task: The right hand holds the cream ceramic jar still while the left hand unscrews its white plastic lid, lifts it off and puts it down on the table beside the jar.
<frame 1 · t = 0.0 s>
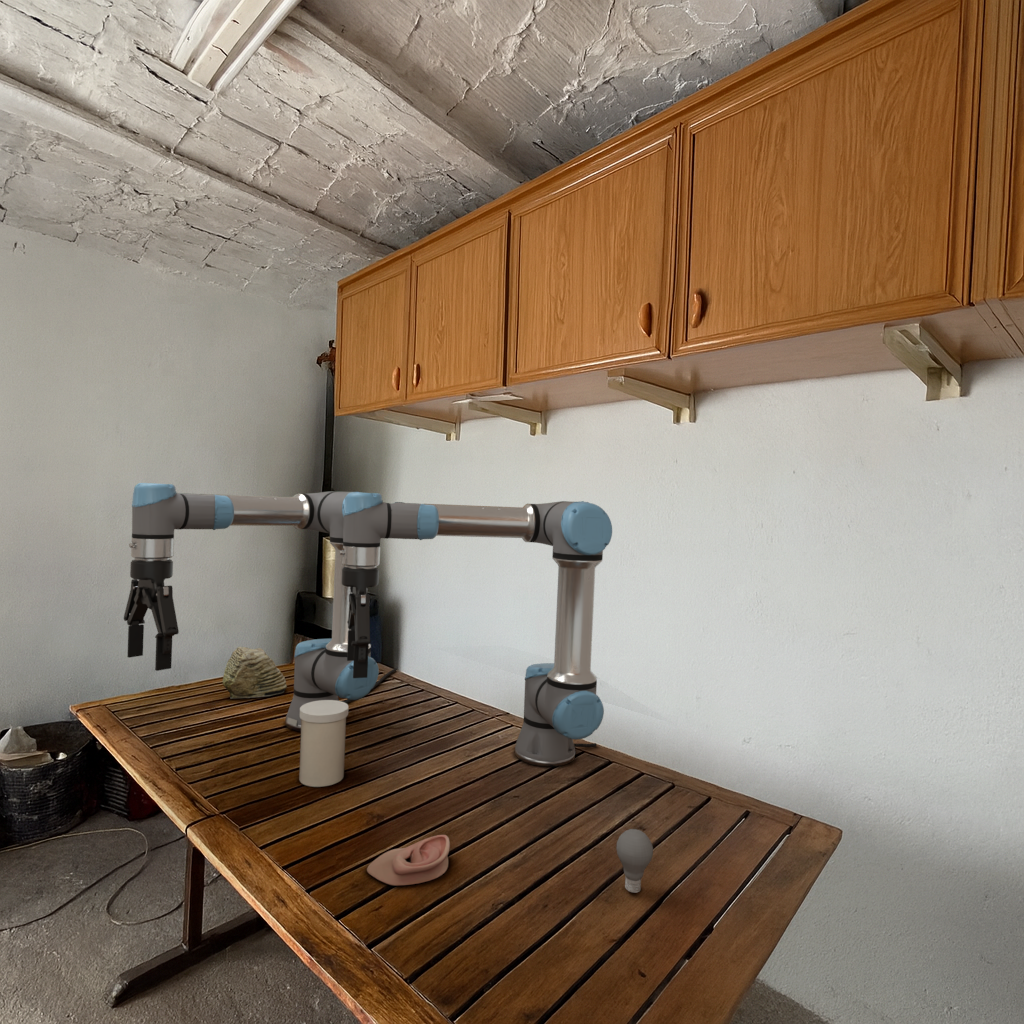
left hand: (148, 662, 129), 28 cm above the table, tool pointing down, fingers open, 13 cm apart
right hand: (356, 668, 132), 28 cm above the table, tool pointing down, fingers open, 13 cm apart
light bulb: (632, 891, 106), on the table
anatomical model: (408, 868, 110), on the table
lid: (324, 708, 143), point 16 cm above the table, screwed on, not yet turned
jar: (321, 777, 143), on the table
fossil: (254, 694, 198), on the table
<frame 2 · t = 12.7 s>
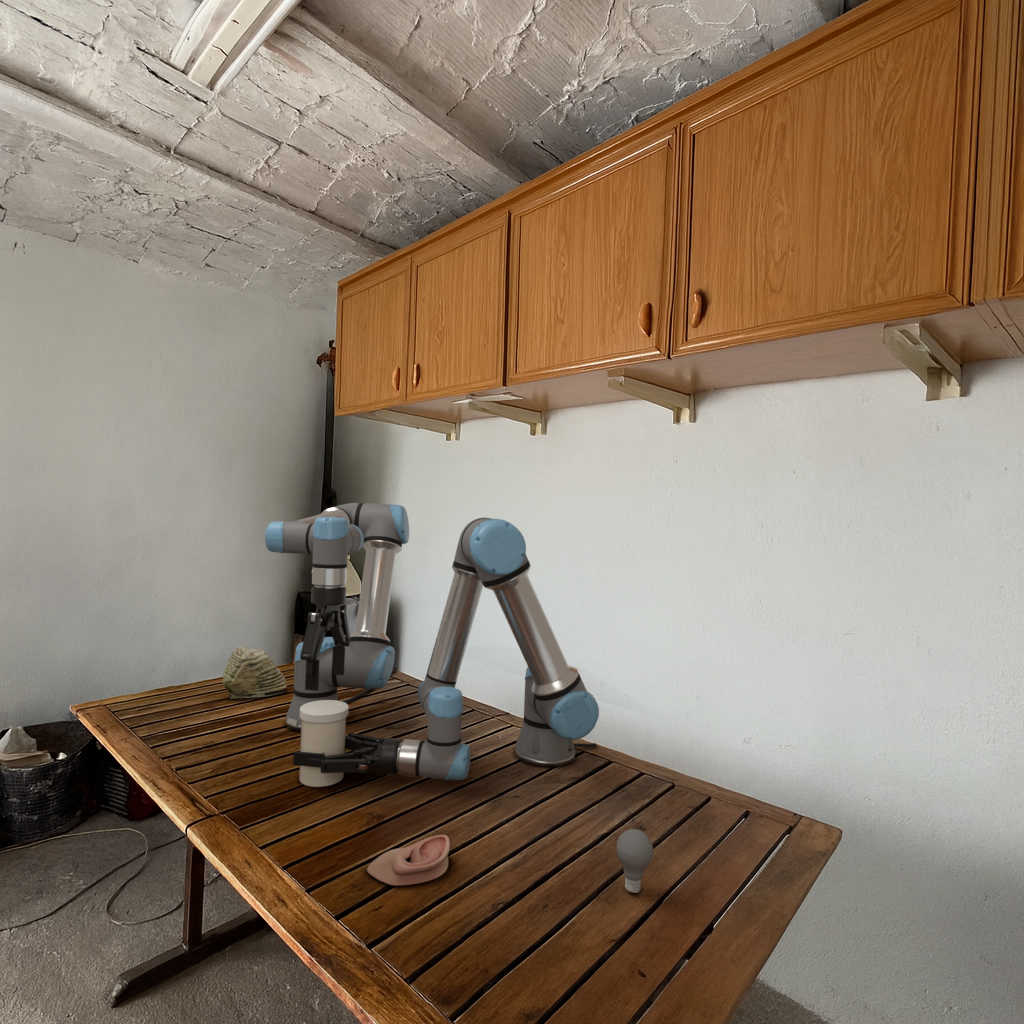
left hand: (325, 681, 143), 22 cm above the table, tool pointing down, fingers open, 12 cm apart
right hand: (304, 748, 143), 6 cm above the table, tool horizontal, fingers closed on jar, 10 cm apart
jar: (321, 777, 143), on the table, touching right hand
everything else where it was.
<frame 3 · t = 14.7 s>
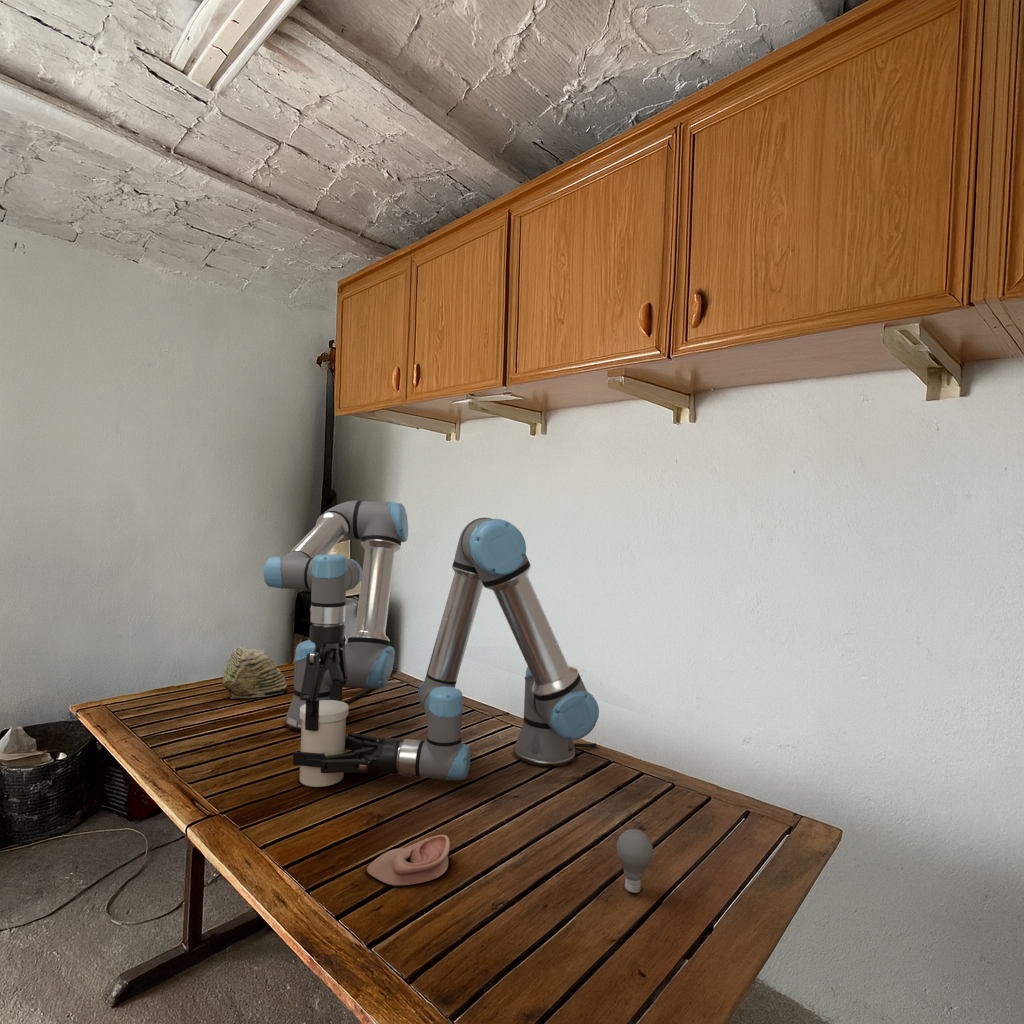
left hand: (323, 721, 143), 13 cm above the table, tool pointing down, fingers closed on lid, 10 cm apart
right hand: (304, 748, 143), 6 cm above the table, tool horizontal, fingers closed on jar, 10 cm apart
lid: (324, 708, 143), point 16 cm above the table, screwed on, not yet turned, touching left hand
jar: (321, 777, 143), on the table, touching right hand
everything else where it was.
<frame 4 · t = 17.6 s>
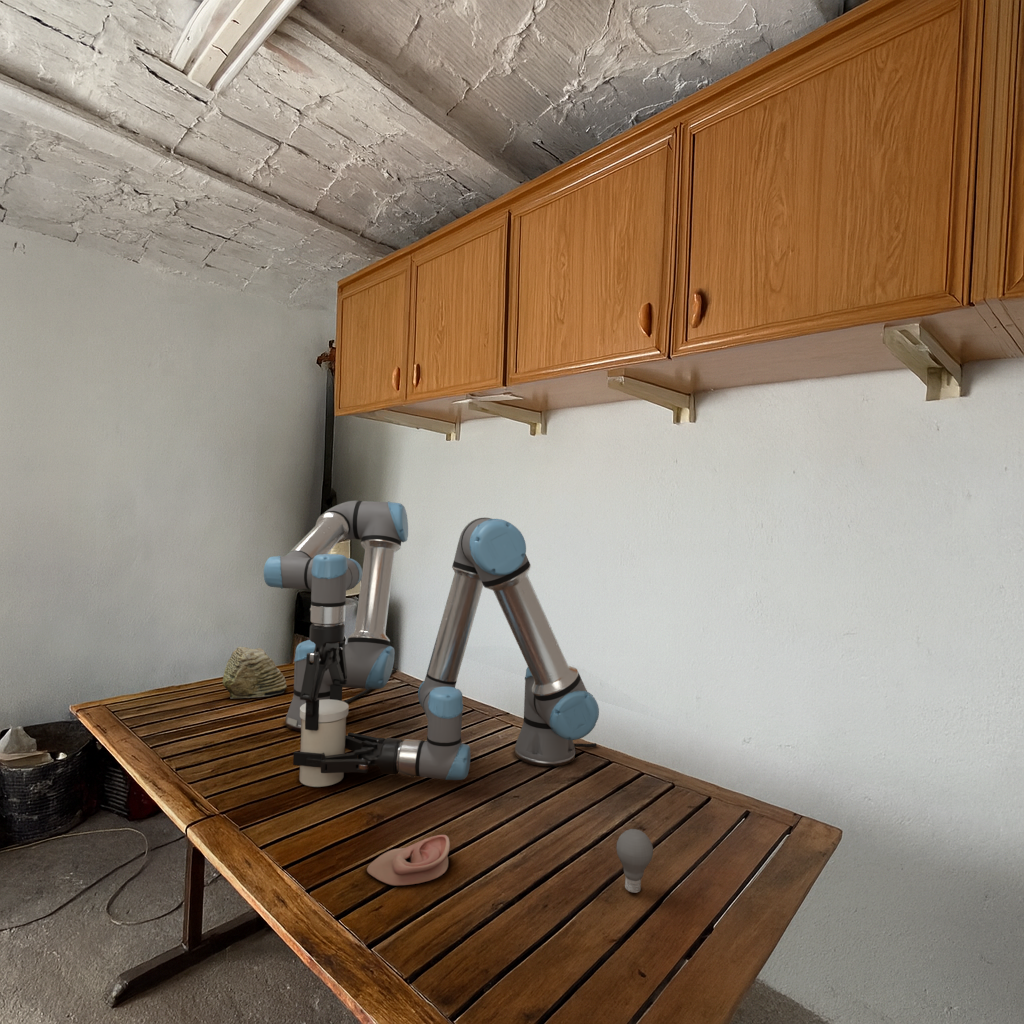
left hand: (323, 720, 143), 13 cm above the table, tool pointing down, fingers closed on lid, 10 cm apart
right hand: (304, 748, 143), 6 cm above the table, tool horizontal, fingers closed on jar, 10 cm apart
lid: (324, 708, 143), point 16 cm above the table, turned 83° so far, risen 0.1 cm, still on its thread, touching left hand
jar: (321, 777, 143), on the table, touching right hand
everything else where it was.
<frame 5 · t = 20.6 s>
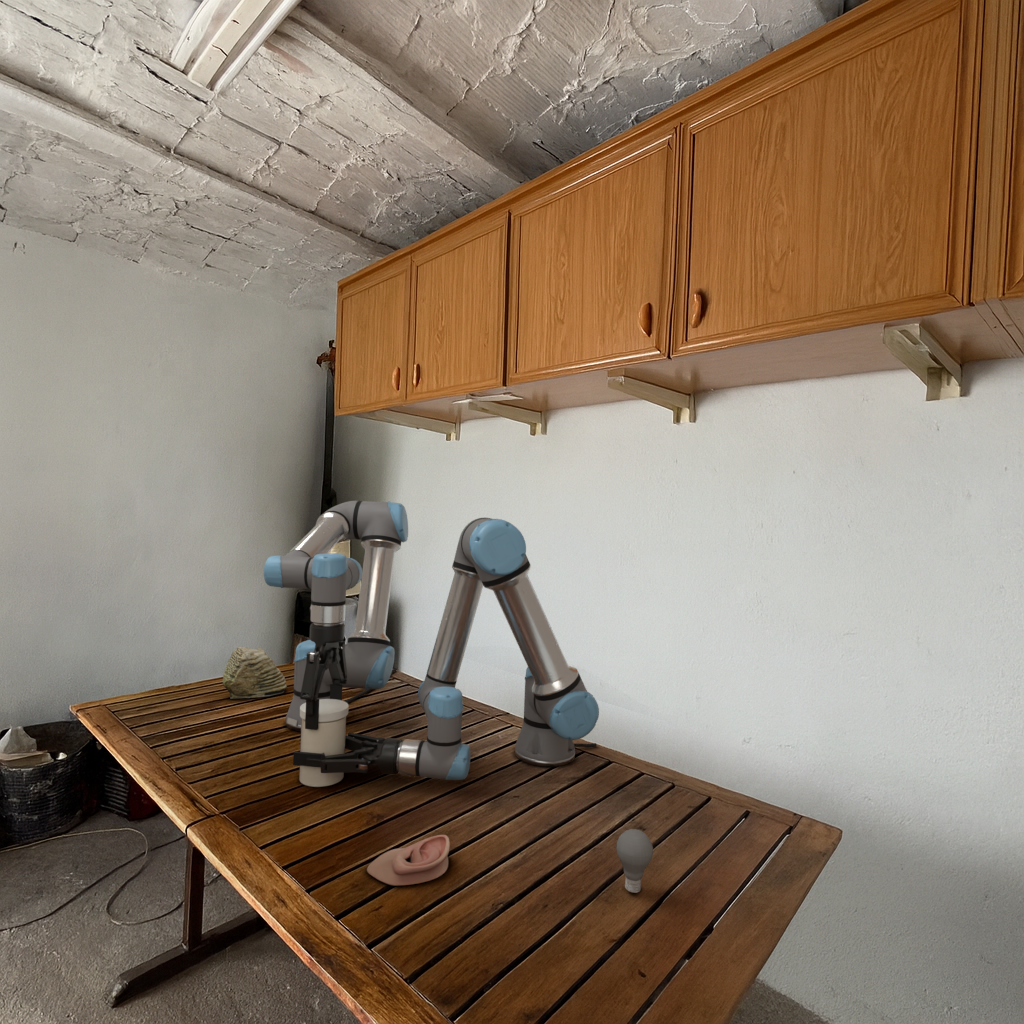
left hand: (323, 720, 143), 13 cm above the table, tool pointing down, fingers closed on lid, 10 cm apart
right hand: (304, 748, 143), 6 cm above the table, tool horizontal, fingers closed on jar, 10 cm apart
lid: (324, 707, 143), point 16 cm above the table, turned 166° so far, risen 0.2 cm, still on its thread, touching left hand
jar: (321, 777, 143), on the table, touching right hand
everything else where it was.
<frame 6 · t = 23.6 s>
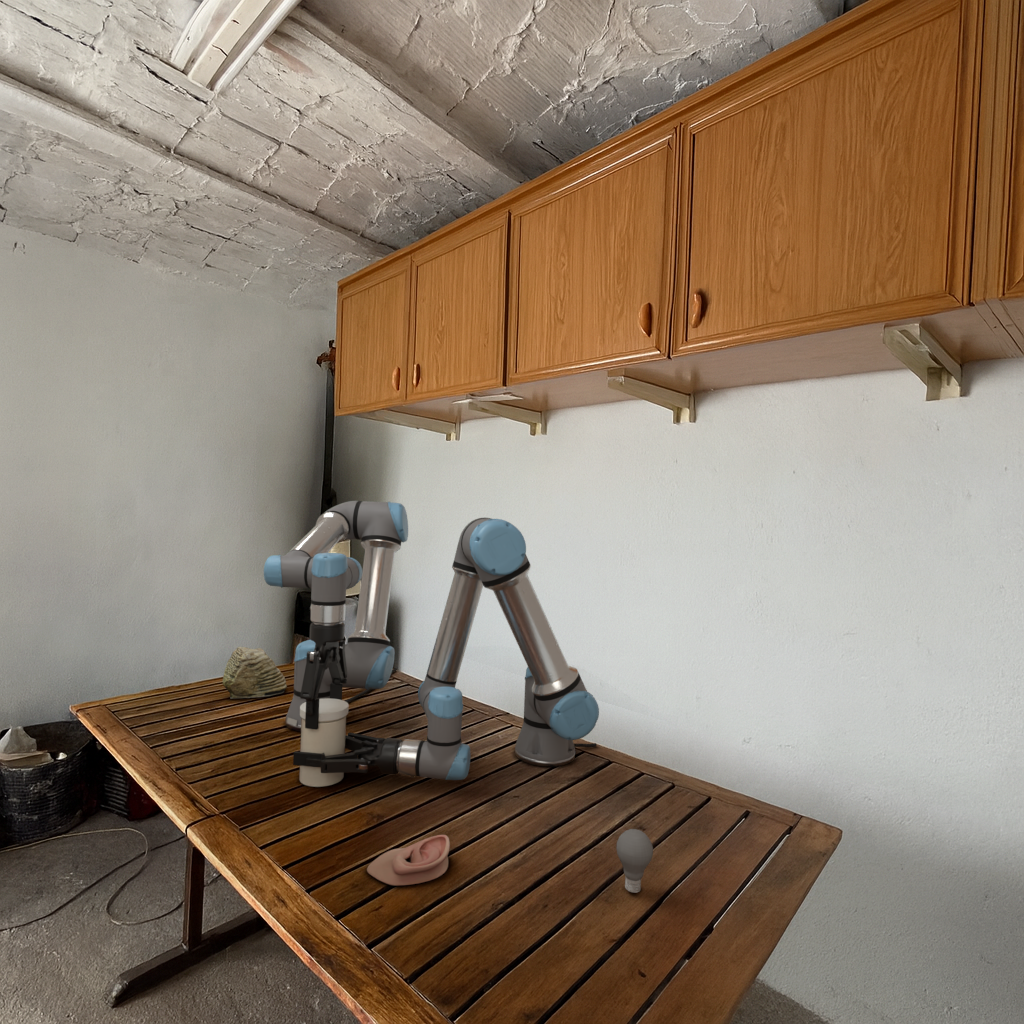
left hand: (323, 719, 143), 13 cm above the table, tool pointing down, fingers closed on lid, 10 cm apart
right hand: (304, 748, 143), 6 cm above the table, tool horizontal, fingers closed on jar, 10 cm apart
lid: (324, 707, 143), point 16 cm above the table, turned 249° so far, risen 0.4 cm, still on its thread, touching left hand
jar: (321, 777, 143), on the table, touching right hand
everything else where it was.
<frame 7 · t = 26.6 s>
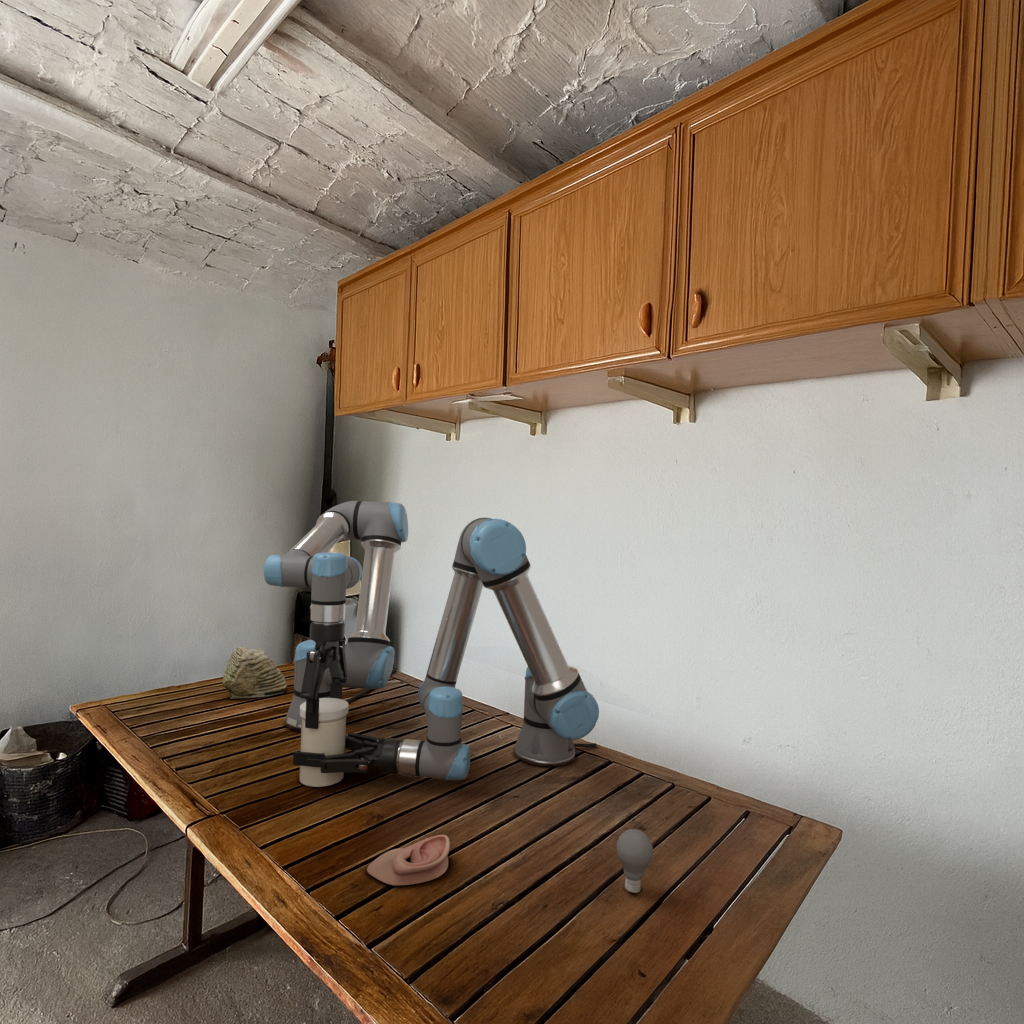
left hand: (324, 719, 143), 13 cm above the table, tool pointing down, fingers closed on lid, 10 cm apart
right hand: (304, 748, 143), 6 cm above the table, tool horizontal, fingers closed on jar, 10 cm apart
lid: (324, 706, 143), point 16 cm above the table, turned 332° so far, risen 0.5 cm, still on its thread, touching left hand
jar: (321, 777, 143), on the table, touching right hand
everything else where it was.
when the left hand's fingers open (0 cm above the table, at t = 36.0 s): lid drops 2 cm, point 1 cm above the table.
when the right hand's fingers open (6 cm above the table, at t = 37.1 s): jar stays where it is, on the table.
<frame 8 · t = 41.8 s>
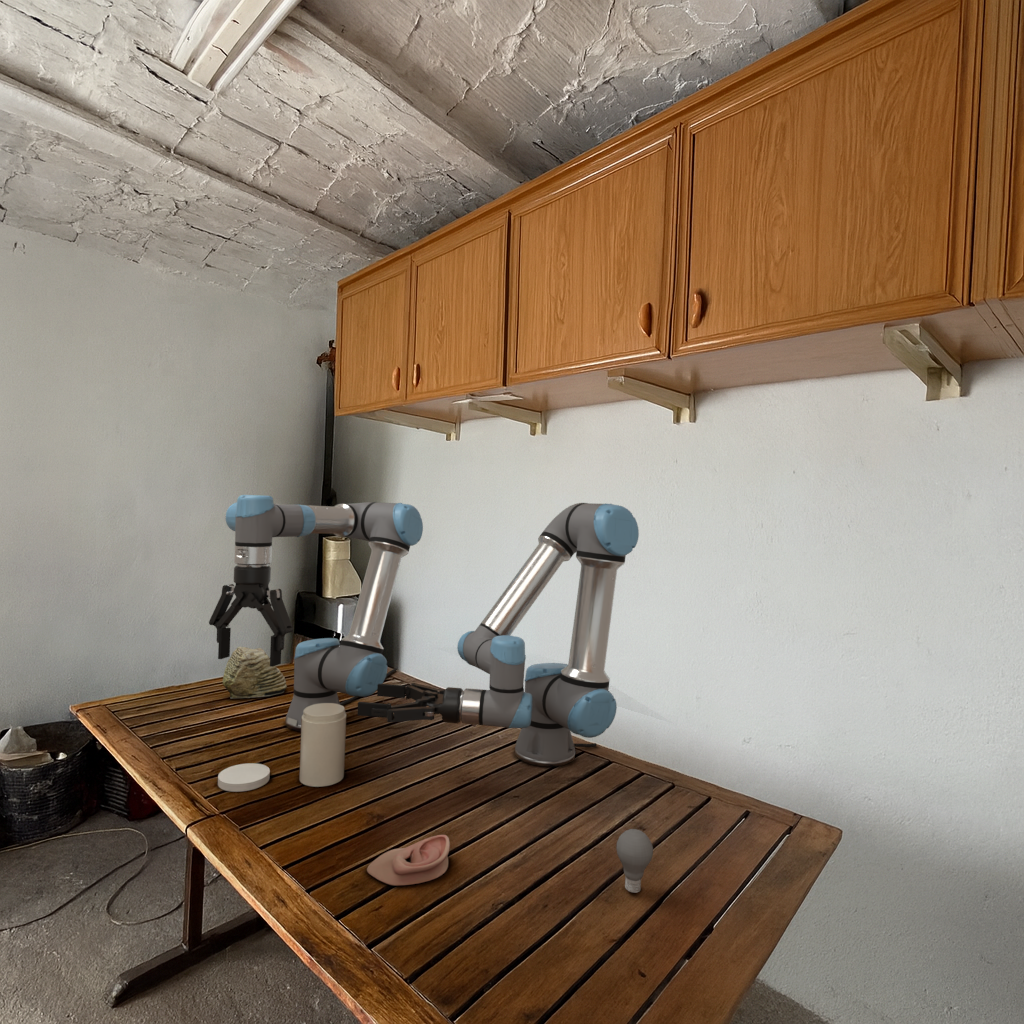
left hand: (249, 661, 139), 26 cm above the table, tool pointing down, fingers open, 13 cm apart
right hand: (368, 698, 142), 19 cm above the table, tool horizontal, fingers open, 13 cm apart
lid: (244, 774, 140), point 1 cm above the table, off its thread
jar: (321, 777, 143), on the table
everything else where it was.
at the end: lid came off its thread; lid point 1.3 cm above the table; the left hand is holding nothing; the right hand is holding nothing; jar tilted 0°; jar moved 0.0 cm from its start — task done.
